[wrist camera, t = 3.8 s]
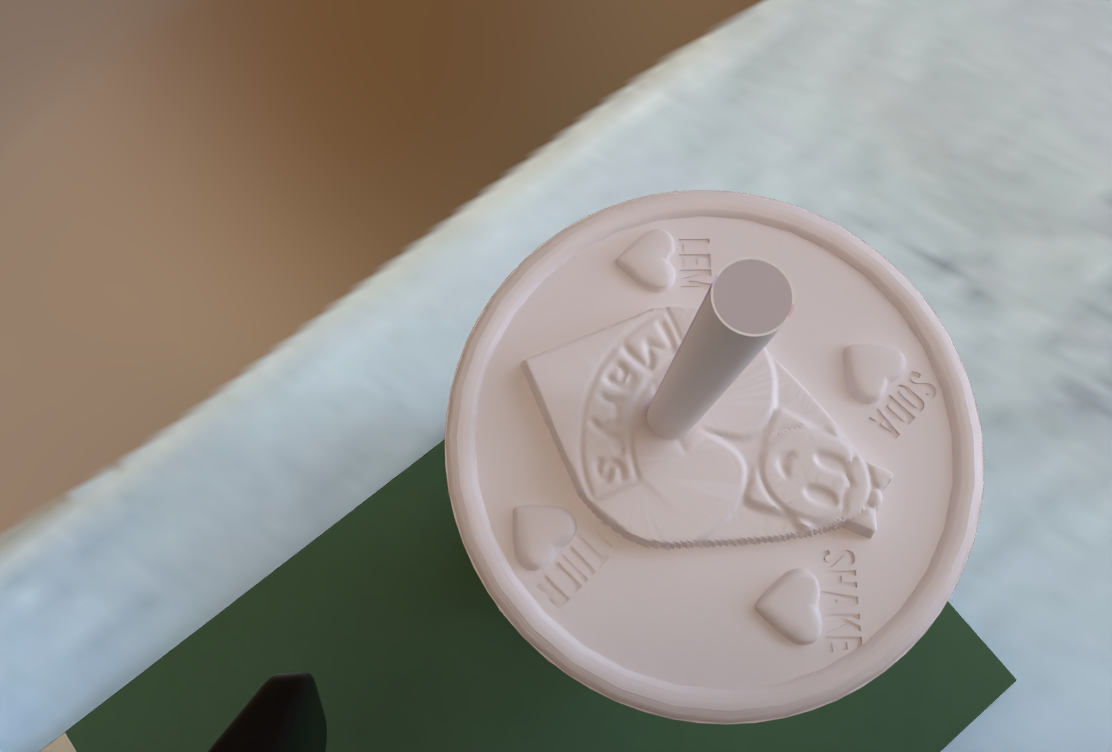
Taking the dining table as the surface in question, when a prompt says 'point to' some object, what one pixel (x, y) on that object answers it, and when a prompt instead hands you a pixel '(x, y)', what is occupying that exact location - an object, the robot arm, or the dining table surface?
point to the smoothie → (714, 457)
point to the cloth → (477, 662)
